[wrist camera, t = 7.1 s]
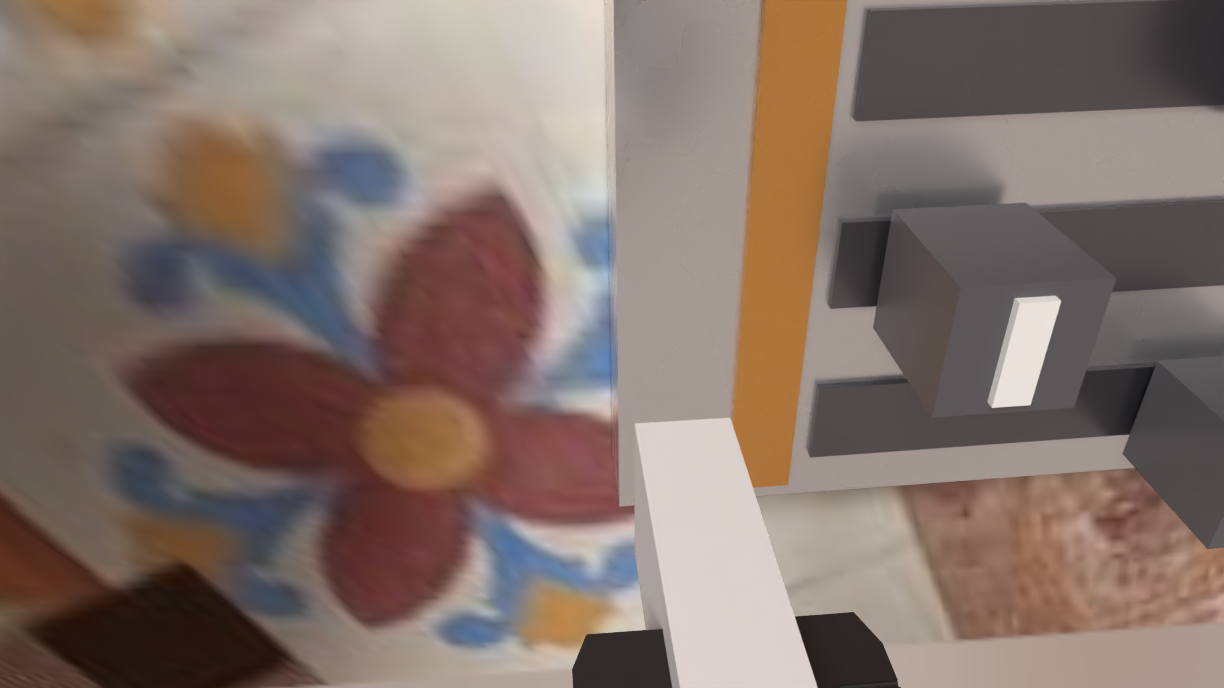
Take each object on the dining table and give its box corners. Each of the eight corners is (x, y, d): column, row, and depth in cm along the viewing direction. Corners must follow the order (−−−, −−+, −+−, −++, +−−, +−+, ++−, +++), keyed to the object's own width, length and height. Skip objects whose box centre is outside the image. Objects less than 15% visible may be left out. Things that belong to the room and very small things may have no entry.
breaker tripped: (873, 327, 21) (935, 423, 18) (892, 209, 19) (965, 292, 16) (996, 319, 21) (1079, 413, 18) (1025, 202, 20) (1122, 283, 17)
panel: (612, 458, 26) (620, 511, 24) (603, -77, 18) (614, -61, 16) (1332, 407, 27) (1392, 453, 25) (1599, -105, 20) (1711, -93, 18)
